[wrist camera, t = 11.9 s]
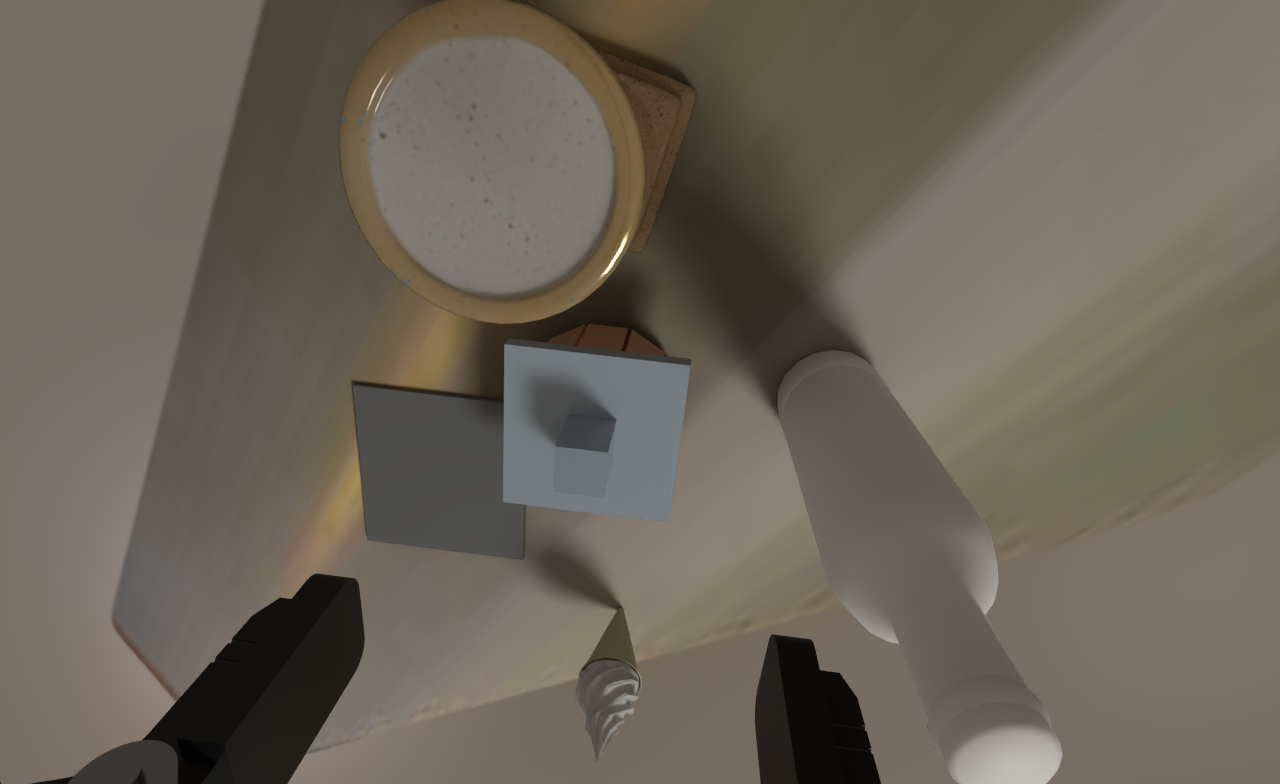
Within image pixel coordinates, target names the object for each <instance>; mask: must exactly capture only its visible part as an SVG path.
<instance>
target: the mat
mask: <svg viewBox="0 0 1280 784" xmlns="http://www.w3.org/2000/svg"><path fill="white" fill-rule="evenodd" d="M353 394H354V405H355V415H356V426H357V436H358V447H359V458H360V468H361V479H362V489H363V500H364V510H365V521H366V531H367V540H370V541H378V542H386V543H394V544H402V545H409V546H417V547H425V548H433V549H441V550H449V551H457V552H465V553H473V554H480V555H488V556H496V557H504V558H512V559H520V560H523V559H524V541H525V505H523V504H515V503H507V502H503V449H504V401H500V400H492V399H483V398H475V397H466V396H458V395H449V394H441V393H432V392H424V391H416V390H407V389H399V388H390V387H382V386H373V385H365V384H356V383H355V384H354V385H353Z"/></svg>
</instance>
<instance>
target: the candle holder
mask: <svg viewBox="0 0 1280 784" xmlns="http://www.w3.org/2000/svg"><path fill="white" fill-rule="evenodd" d="M696 96H697V91H696V90H695V89H693V88H692V87H690V86H688V85H686V84H684V83H682V82H679V81H677V80H675V79H673V78H670V77H668V76H665V75H663V74H660V73H657V72H655V71H652V70H649V69H647V68H644V67H642V66H639V65H636V64H634V63H631V62H628V61H626V60H623V59H621V58H618V57H615V56H613V55H610V54H608V53H605V52H602V51H600V50H597V49H594V48H593V47H592V46H591V45H590V44H589V43H588V42H587V41H586V40H585V39H584V38H583V37H582V36H581V35H580V34H579V33H577V32H576V31H574V30H573V29H571V28H570V27H569V26H567V25H566V24H564V23H563V22H562V21H560V20H559V19H557V18H556V17H554V16H552V15H550V14H547V13H545V12H543V11H541V10H539V9H537V8H535V7H533V6H531V5H527V4H524V3H520V2H517V1H513V0H442V1H438V2H435V3H431V4H428V5H425V6H423V7H421V8H419V9H417V10H415V11H414V12H412V13H410V14H408V15H406V16H404V17H403V18H401V19H400V20H399V21H397V22H396V23H395V24H394V25H392V26H391V27H390V28H388V29H387V30H386V31H385V32H384V33H383V34H382V35H381V36H380V37H379V38H378V39H377V41H376V42H375V43H374V44H373V45H372V46H371V47H370V49H369V50H368V51H367V53H366V54H365V56H364V57H363V59H362V61H361V62H360V64H359V66H358V67H357V69H356V71H355V72H354V75H353V78H352V80H351V83H350V85H349V88H348V90H347V93H346V95H345V100H344V104H343V109H342V114H341V118H340V129H339V157H340V169H341V175H342V179H343V184H344V188H345V192H346V196H347V199H348V202H349V204H350V207H351V210H352V212H353V215H354V218H355V220H356V222H357V224H358V226H359V228H360V229H361V231H362V233H363V235H364V237H365V239H366V241H367V242H368V244H369V245H370V246H371V248H372V249H373V251H374V252H375V253H376V255H377V256H378V257H379V259H380V260H381V262H382V263H383V264H384V265H385V266H386V267H387V268H388V269H389V270H390V271H391V272H392V273H393V274H394V275H395V276H396V278H397V279H398V280H400V281H401V282H402V283H403V284H405V285H406V286H407V287H408V288H409V289H411V290H412V291H413V292H414V293H416V294H417V295H419V296H420V297H422V298H424V299H425V300H427V301H428V302H430V303H432V304H433V305H435V306H437V307H439V308H441V309H444V310H446V311H448V312H451V313H453V314H455V315H458V316H461V317H465V318H469V319H472V320H476V321H481V322H490V323H498V324H509V323H525V322H530V321H535V320H540V319H544V318H547V317H550V316H553V315H555V314H558V313H561V312H563V311H565V310H567V309H569V308H570V307H572V306H574V305H576V304H577V303H579V302H581V301H583V300H584V299H585V298H586V297H588V296H589V295H590V294H591V293H593V292H594V291H595V290H596V289H598V288H599V287H600V286H601V285H602V284H603V283H604V282H605V280H606V279H607V278H608V277H609V276H610V275H611V274H612V273H613V271H614V270H615V269H616V268H617V266H618V264H619V263H620V261H621V260H622V258H623V256H624V255H625V253H626V252H627V250H628V251H632V252H635V253H641V252H642V250H643V249H644V248H645V245H646V243H647V240H648V238H649V235H650V233H651V231H652V228H653V226H654V223H655V220H656V217H657V214H658V211H659V208H660V205H661V202H662V200H663V197H664V194H665V191H666V188H667V185H668V182H669V179H670V176H671V174H672V171H673V168H674V165H675V162H676V159H677V156H678V153H679V150H680V148H681V145H682V142H683V139H684V136H685V133H686V130H687V127H688V124H689V122H690V118H691V115H692V112H693V108H694V105H695V101H696Z"/></svg>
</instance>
